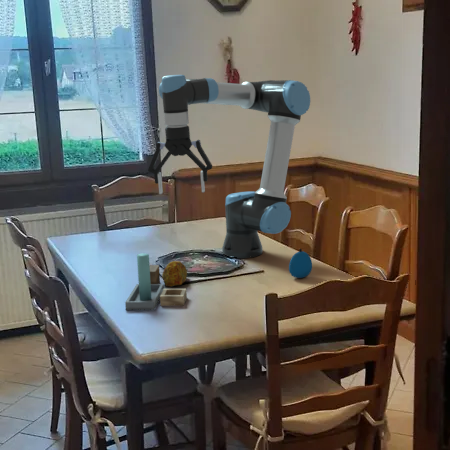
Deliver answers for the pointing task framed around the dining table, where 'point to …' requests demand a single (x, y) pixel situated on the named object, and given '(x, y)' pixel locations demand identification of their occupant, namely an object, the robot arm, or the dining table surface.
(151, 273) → the block
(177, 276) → the rock
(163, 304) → the socket block
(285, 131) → the robot arm
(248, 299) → the dining table surface
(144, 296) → the dowel
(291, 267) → the ornament
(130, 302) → the tray
